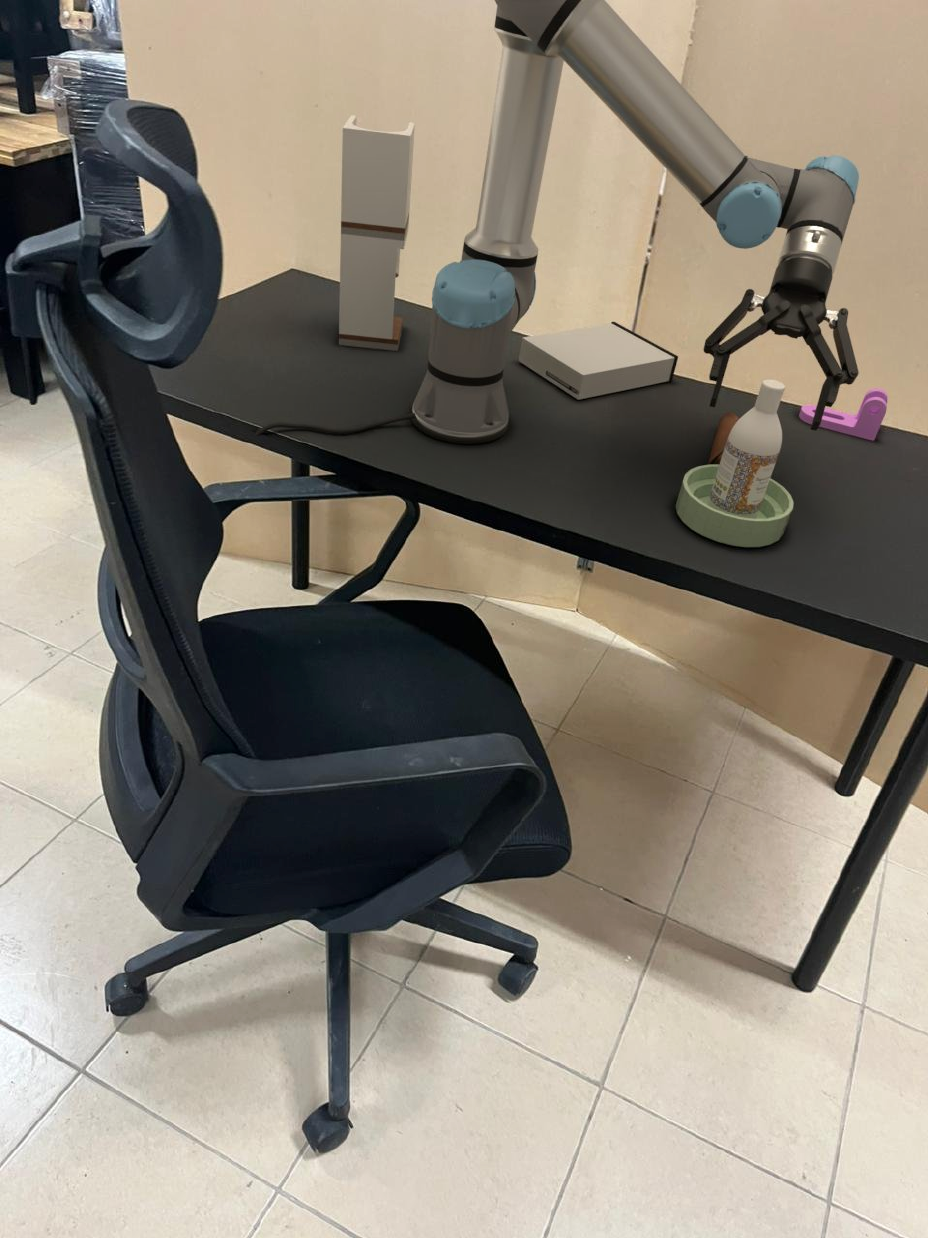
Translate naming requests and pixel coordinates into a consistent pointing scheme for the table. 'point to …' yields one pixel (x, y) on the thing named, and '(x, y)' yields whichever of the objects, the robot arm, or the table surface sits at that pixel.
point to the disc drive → (597, 360)
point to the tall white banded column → (373, 232)
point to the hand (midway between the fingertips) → (763, 414)
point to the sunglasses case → (722, 437)
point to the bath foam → (749, 456)
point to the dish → (726, 525)
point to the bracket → (853, 416)
